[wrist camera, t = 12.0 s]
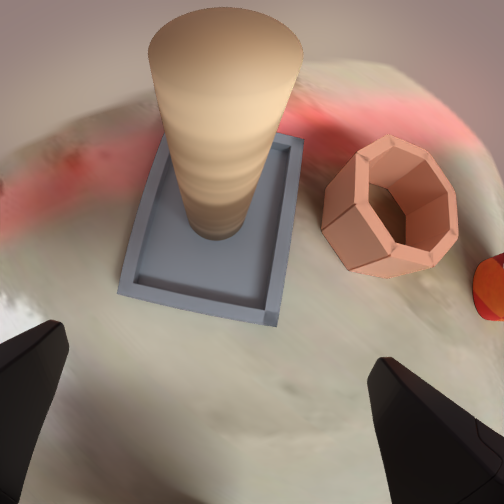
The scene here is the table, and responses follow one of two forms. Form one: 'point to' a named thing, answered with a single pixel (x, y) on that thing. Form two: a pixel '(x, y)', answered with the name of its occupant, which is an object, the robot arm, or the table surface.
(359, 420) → the table surface
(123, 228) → the table surface
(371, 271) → the pot
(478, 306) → the paper cup
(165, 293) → the slate tray
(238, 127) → the oak peg
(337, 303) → the table surface
